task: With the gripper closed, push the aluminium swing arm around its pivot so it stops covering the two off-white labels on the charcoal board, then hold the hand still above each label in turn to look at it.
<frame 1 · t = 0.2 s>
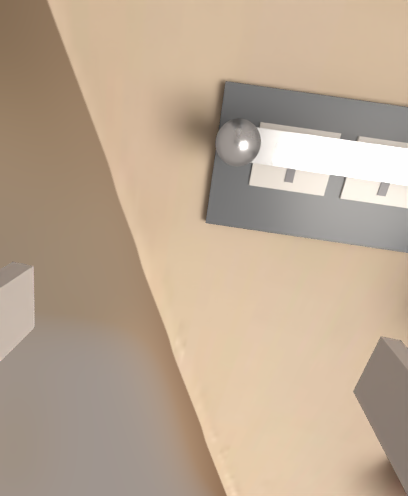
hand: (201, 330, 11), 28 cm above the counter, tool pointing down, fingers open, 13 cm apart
label board: (325, 173, 35), on the counter
swing arm: (357, 160, 27), point 8 cm above the counter, hinge at 0.0°
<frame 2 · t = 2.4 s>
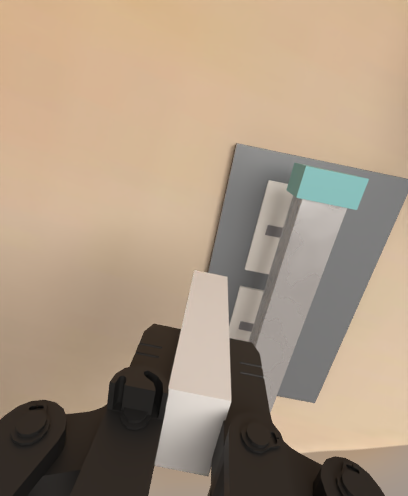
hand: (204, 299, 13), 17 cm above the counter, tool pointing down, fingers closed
label board: (279, 288, 31), on the counter
swing arm: (274, 332, 24), point 8 cm above the counter, hinge at 0.0°
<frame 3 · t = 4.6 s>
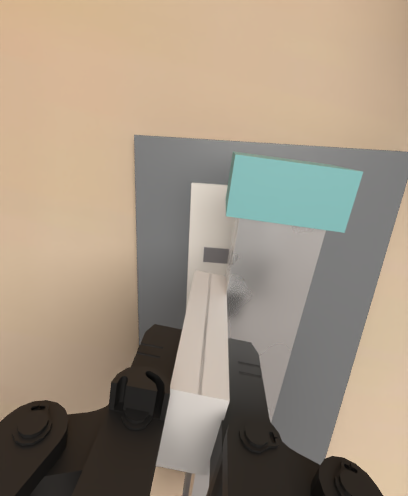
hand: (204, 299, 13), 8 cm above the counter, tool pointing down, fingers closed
label board: (245, 328, 22), on the counter
swing arm: (231, 424, 15), point 8 cm above the counter, hinge at -3.9°, touching gripper
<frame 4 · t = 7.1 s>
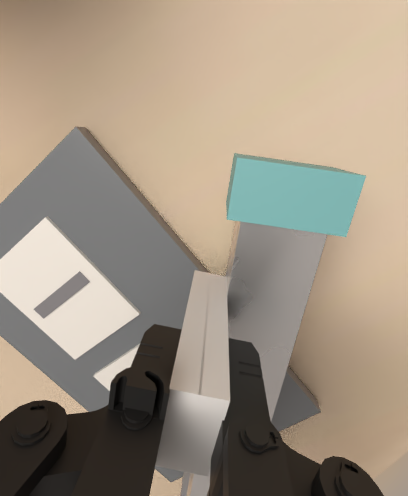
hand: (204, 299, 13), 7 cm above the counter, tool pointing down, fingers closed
label board: (139, 336, 23), on the counter
swing arm: (230, 425, 15), point 8 cm above the counter, hinge at -46.2°, touching gripper
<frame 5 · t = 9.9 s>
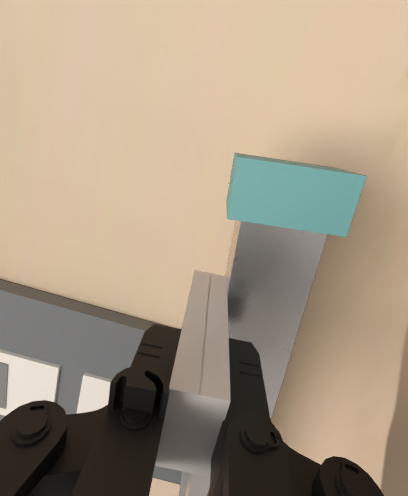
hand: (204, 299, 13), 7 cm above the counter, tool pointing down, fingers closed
label board: (87, 383, 25), on the counter
swing arm: (228, 425, 15), point 8 cm above the counter, hinge at -81.8°, touching gripper
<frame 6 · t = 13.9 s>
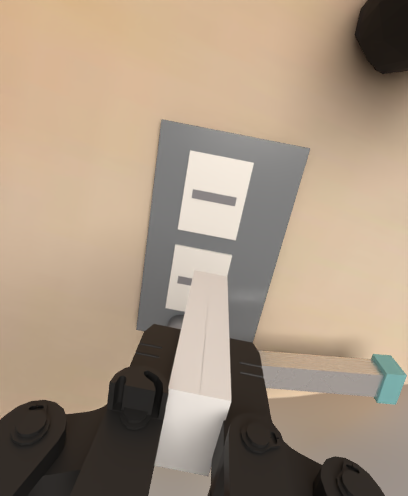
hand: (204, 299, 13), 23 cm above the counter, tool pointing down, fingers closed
label board: (212, 247, 36), on the counter
swing arm: (273, 369, 33), point 8 cm above the counter, hinge at -82.5°
portable speaker: (395, 28, 28), on the counter
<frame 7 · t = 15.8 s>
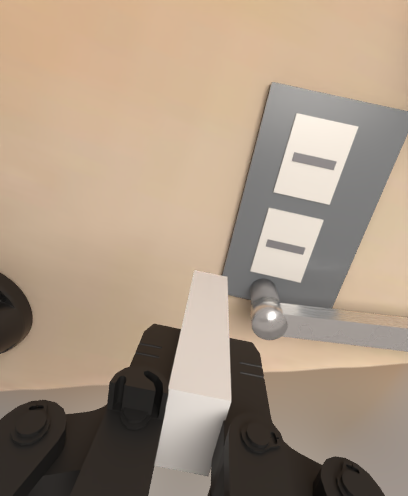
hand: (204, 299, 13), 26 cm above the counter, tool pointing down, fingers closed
label board: (301, 212, 38), on the counter
swing arm: (365, 329, 34), point 8 cm above the counter, hinge at -82.5°
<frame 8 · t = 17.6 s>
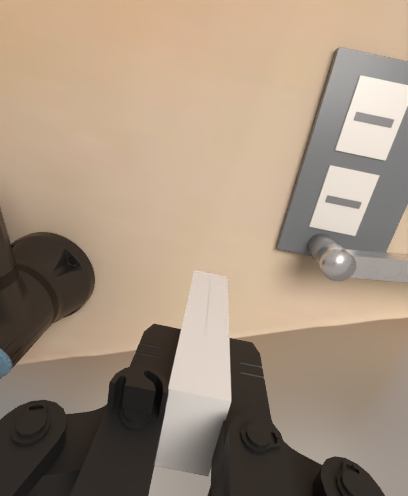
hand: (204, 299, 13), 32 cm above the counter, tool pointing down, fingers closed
label board: (357, 170, 41), on the counter
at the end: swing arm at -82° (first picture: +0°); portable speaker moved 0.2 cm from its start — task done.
